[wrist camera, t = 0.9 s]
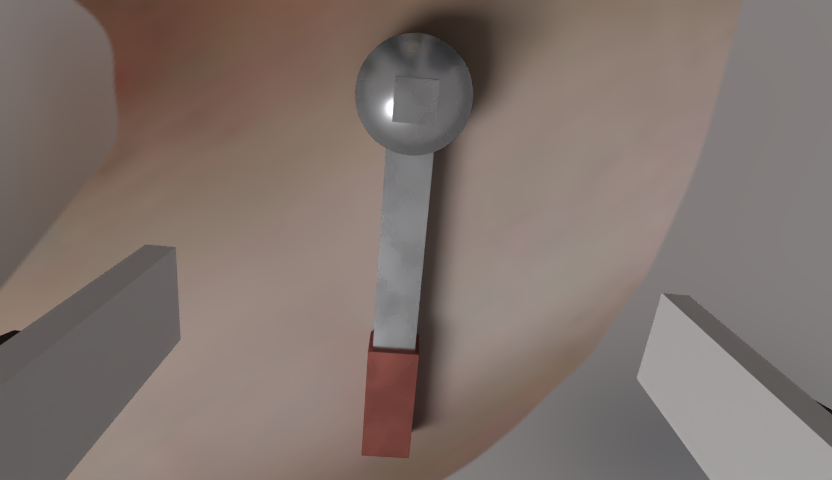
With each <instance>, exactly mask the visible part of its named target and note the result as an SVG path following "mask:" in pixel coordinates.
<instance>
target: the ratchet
mask: <svg viewBox="0 0 832 480" xmlns="http://www.w3.org/2000/svg"><path fill="white" fill-rule="evenodd" d="M355 100H356V107H357V111H358V114H359V117H360V119H361V122H362V124H363V125H364V127H365V129H366V130H367V132H368V133H369V134H370V135H371V137H372V138H373V139H374V140H375V141H377V142H378V143H379V144H380V145H382V146H383V147H385V148H386V155H385V170H384V185H383V201H382V216H381V231H380V246H379V262H378V277H377V292H376V307H375V322H374V332H371V335H370V342H369V349H368V361H367V377H366V393H365V409H364V426H363V442H362V455H363V456H380V457H397V458H409V452H410V442H411V432H412V422H413V412H414V402H415V391H416V381H417V371H418V361H419V339H418V335H416V334H417V324H418V313H419V303H420V292H421V282H422V271H423V261H424V250H425V240H426V229H427V219H428V209H429V198H430V188H431V177H432V167H433V156H434V152H436V151H438V150H440V149H442V148H444V147H446V146H447V145H448V144H450V143H451V142H452V141H453V140H454V139H455V138H456V137H457V136H458V135H459V134H460V133H461V131H462V130H463V128H464V127H465V125H466V123H467V121H468V119H469V116H470V113H471V110H472V105H473V84H472V79H471V75H470V72H469V70H468V68H467V66H466V64H465V62H464V60H463V59H462V57H461V56H460V55H459V54H458V52H457V51H456V50H455V49H454V48H453V47H451V46H450V45H449V44H448V43H446V42H444V41H443V40H441V39H439V38H437V37H434V36H431V35H428V34H423V33H406V34H401V35H397V36H394V37H392V38H390V39H388V40H386V41H384V42H383V43H381V44H380V45H378V46H377V47H376V48H375V49H374V50H373V51H372V52H371V53H370V54H369V56H368V57H367V58H366V60H365V61H364V63H363V65H362V67H361V69H360V72H359V74H358V78H357V82H356V89H355Z"/></svg>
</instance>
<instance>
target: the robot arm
mask: <svg viewBox="0 0 832 480" xmlns="http://www.w3.org/2000/svg"><path fill="white" fill-rule="evenodd" d="M179 340H180V322H179V303H178V284H177V265H176V247H167V246H156V245H144V246H143V247H141V248H140V249H139V250H137V251H136V252H134V253H133V254H131V255H130V256H129V257H127V258H126V259H124V260H123V261H121V262H120V263H118V264H117V265H116V266H114V267H113V268H111V269H110V270H108V271H107V272H105V273H104V274H103V275H101V276H100V277H98V278H97V279H95V280H94V281H92V282H91V283H90V284H88V285H87V286H85V287H84V288H82V289H81V290H79V291H78V292H77V293H75V294H74V295H72V296H71V297H69V298H68V299H66V300H65V301H64V302H62V303H61V304H59V305H58V306H56V307H55V308H54V309H52V310H51V311H49V312H48V313H46V314H45V315H43V316H42V317H41V318H39V319H38V320H36V321H35V322H33V323H32V324H30V325H29V326H28V327H26V328H25V329H23V330H22V331H16V330H13V331H11V332H9V333H6V334H4V335H1V336H0V480H65V479H66V478H67V477H68V475H69V474H70V473H71V472H72V470H73V469H74V468H75V467H76V466H77V464H78V463H79V462H80V461H81V460H82V458H83V457H84V456H85V455H86V453H87V452H88V451H89V450H90V449H91V447H92V446H93V445H94V444H95V443H96V441H97V440H98V439H99V438H100V436H101V435H102V434H103V433H104V432H105V430H106V429H107V428H108V427H109V426H110V424H111V423H112V422H113V421H114V419H115V418H116V417H117V416H118V415H119V413H120V412H121V411H122V410H123V409H124V407H125V406H126V405H127V404H128V402H129V401H130V400H131V399H132V398H133V396H134V395H135V394H136V393H137V391H138V390H139V389H140V388H141V387H142V385H143V384H144V383H145V382H146V381H147V379H148V378H149V377H150V376H151V374H152V373H153V372H154V371H155V370H156V368H157V367H158V366H159V365H160V364H161V362H162V361H163V360H164V359H165V357H166V356H167V355H168V354H169V353H170V351H171V350H172V349H173V348H174V347H175V345H176V344H177V343H178V342H179ZM637 379H638V381H639V382H640V384H641V385H642V386H643V388H644V389H645V390H646V392H647V393H648V394H649V396H650V397H651V398H652V400H653V401H654V403H655V404H656V406H657V407H658V408H659V410H660V411H661V413H662V414H663V415H664V417H665V418H666V419H667V421H668V422H669V423H670V425H671V426H672V428H673V429H674V430H675V432H676V433H677V435H678V436H679V437H680V439H681V440H682V442H683V443H684V444H685V446H686V447H687V449H688V450H689V451H690V453H691V454H692V455H693V457H694V458H695V460H696V461H697V462H698V464H699V465H700V466H701V468H702V469H703V471H704V472H705V473H706V475H707V476H708V478H709V479H710V480H832V410H831V409H829V408H827V407H826V406H824V405H822V404H820V403H819V402H817V401H815V400H814V399H813V398H811V397H810V396H809V395H808V394H807V393H805V392H804V391H803V390H802V389H800V388H799V387H798V386H797V385H796V384H795V383H793V382H792V381H791V380H790V379H789V378H787V377H786V376H785V375H784V374H782V373H781V372H780V371H779V370H778V369H777V368H775V367H774V366H773V365H772V364H770V363H769V362H768V361H767V360H766V359H764V358H763V357H762V356H761V355H760V354H758V353H757V352H756V351H755V350H754V349H752V348H751V347H750V346H749V345H748V344H746V343H745V342H744V341H743V340H741V339H740V338H739V337H738V336H737V335H736V334H734V333H733V332H732V331H730V329H728V328H727V327H726V326H725V325H723V324H722V323H721V322H720V321H719V320H717V319H716V318H715V317H714V316H713V315H712V314H710V313H709V312H708V311H707V310H706V309H704V308H703V307H702V306H701V305H699V304H698V303H697V302H696V301H695V300H693V299H692V298H691V297H690V296H687V295H676V294H665V293H662V295H661V298H660V301H659V305H658V308H657V312H656V315H655V318H654V322H653V325H652V328H651V332H650V335H649V339H648V342H647V345H646V349H645V353H644V356H643V359H642V363H641V366H640V369H639V373H638V376H637Z"/></svg>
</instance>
